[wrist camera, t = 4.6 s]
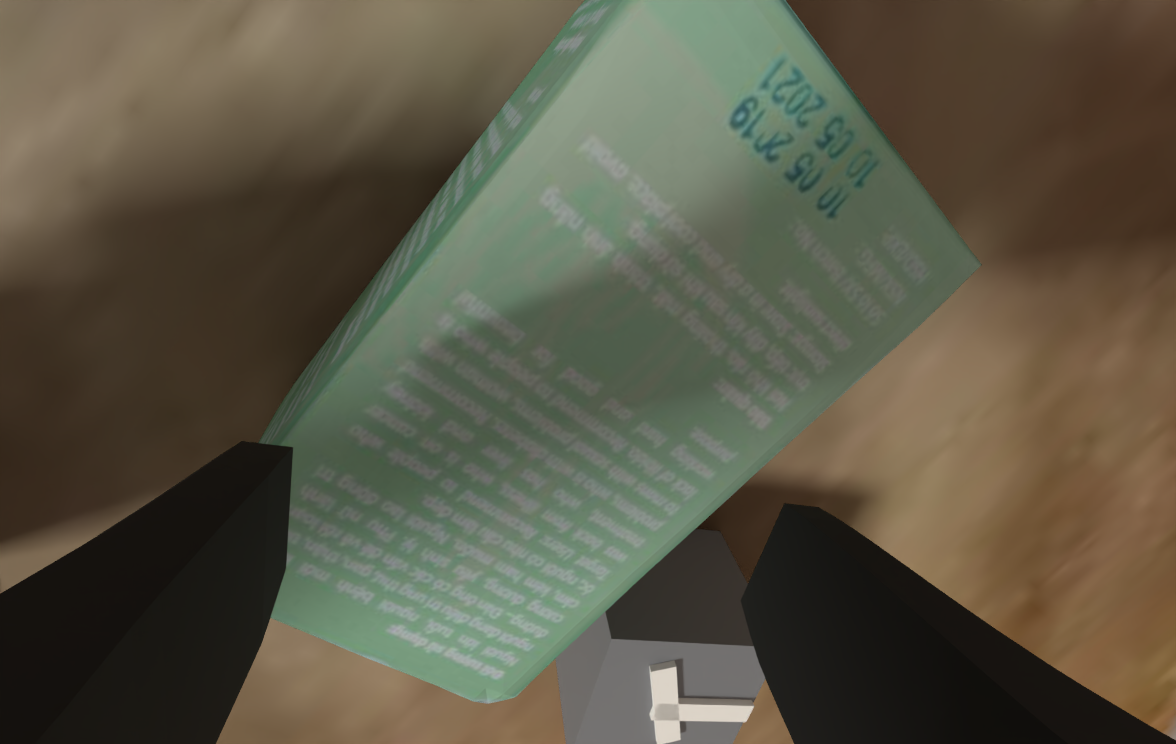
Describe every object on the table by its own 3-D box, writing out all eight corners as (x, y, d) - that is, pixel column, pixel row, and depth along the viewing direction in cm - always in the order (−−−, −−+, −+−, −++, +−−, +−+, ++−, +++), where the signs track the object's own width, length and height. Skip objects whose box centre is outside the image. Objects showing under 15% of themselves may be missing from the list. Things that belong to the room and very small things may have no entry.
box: (279, 397, 17) (149, 606, 10) (599, -29, 14) (715, -132, 7) (492, 516, 20) (499, 739, 13) (795, 187, 17) (1008, 259, 10)
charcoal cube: (551, 625, 22) (569, 768, 18) (583, 515, 20) (612, 645, 16) (677, 632, 23) (725, 768, 19) (719, 529, 21) (784, 653, 17)
